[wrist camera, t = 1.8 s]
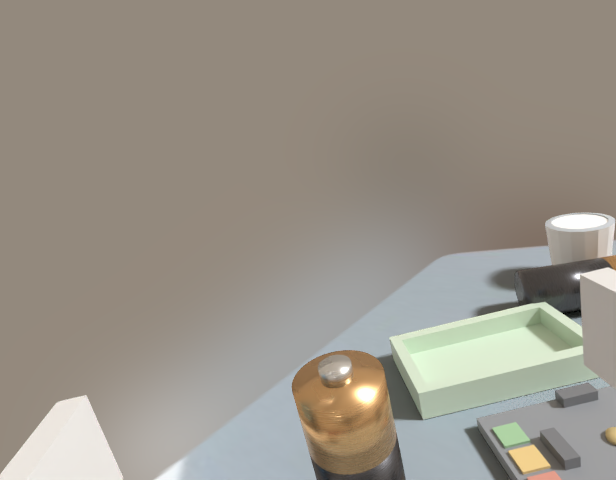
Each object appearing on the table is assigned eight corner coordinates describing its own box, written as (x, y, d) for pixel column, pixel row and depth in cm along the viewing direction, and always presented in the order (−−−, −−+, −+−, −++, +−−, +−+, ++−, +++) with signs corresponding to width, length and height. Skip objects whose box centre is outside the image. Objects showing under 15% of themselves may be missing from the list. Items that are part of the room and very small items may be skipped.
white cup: (537, 271, 54) (533, 219, 52) (591, 260, 54) (589, 207, 52) (569, 293, 47) (566, 235, 45) (631, 280, 47) (631, 221, 45)
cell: (335, 587, 24) (281, 402, 20) (337, 507, 29) (294, 345, 25) (424, 582, 23) (385, 389, 19) (411, 500, 28) (378, 333, 24)
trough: (423, 419, 34) (418, 393, 34) (393, 359, 43) (389, 337, 42) (612, 374, 34) (611, 346, 34) (544, 323, 43) (543, 300, 42)
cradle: (552, 542, 24) (550, 518, 23) (478, 429, 32) (475, 409, 32) (758, 492, 24) (761, 467, 23) (629, 392, 32) (629, 372, 32)
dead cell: (534, 326, 43) (531, 282, 41) (516, 304, 48) (513, 263, 46) (673, 307, 41) (674, 259, 39) (639, 285, 46) (640, 243, 44)
